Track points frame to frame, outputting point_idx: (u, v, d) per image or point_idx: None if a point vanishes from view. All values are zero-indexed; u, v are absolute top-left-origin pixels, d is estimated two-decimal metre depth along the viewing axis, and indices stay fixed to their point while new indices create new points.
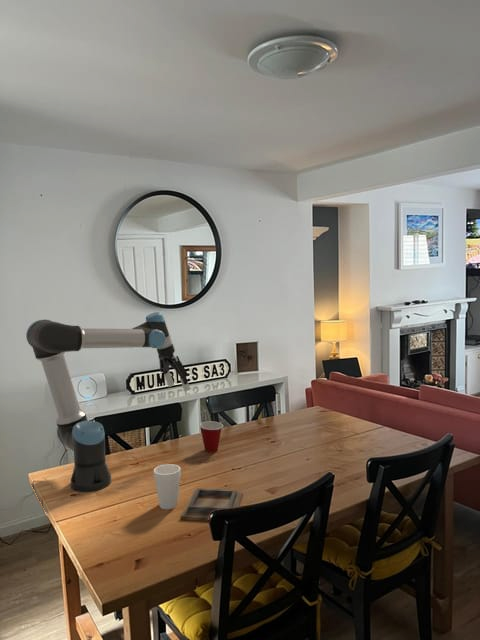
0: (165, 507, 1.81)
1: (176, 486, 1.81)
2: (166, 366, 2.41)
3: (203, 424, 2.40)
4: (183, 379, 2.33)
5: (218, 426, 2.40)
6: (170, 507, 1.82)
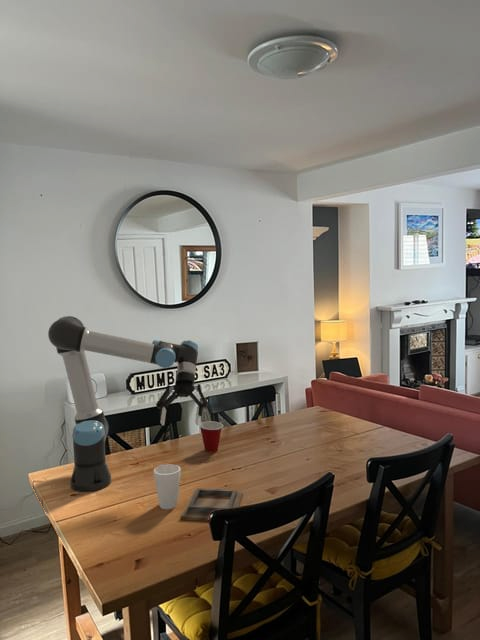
0: (165, 507, 1.81)
1: (176, 486, 1.81)
2: (172, 398, 2.07)
3: (203, 424, 2.40)
4: (201, 408, 2.02)
5: (218, 426, 2.40)
6: (170, 507, 1.82)
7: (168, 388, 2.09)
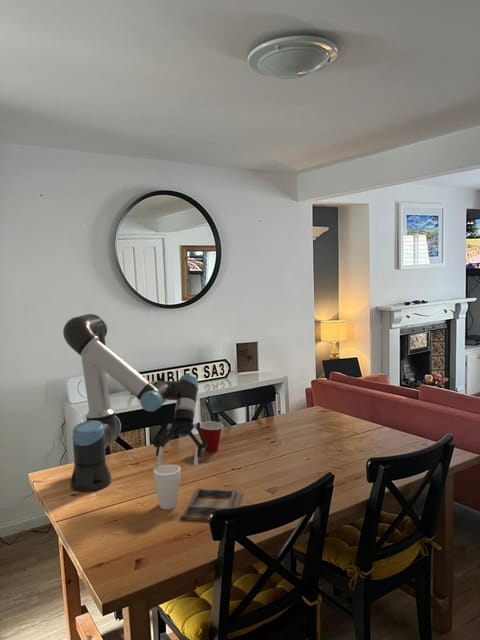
0: (165, 507, 1.81)
1: (176, 486, 1.81)
2: (170, 437, 1.96)
3: (203, 424, 2.40)
4: (200, 449, 1.92)
5: (218, 426, 2.40)
6: (170, 507, 1.82)
7: (166, 425, 1.99)
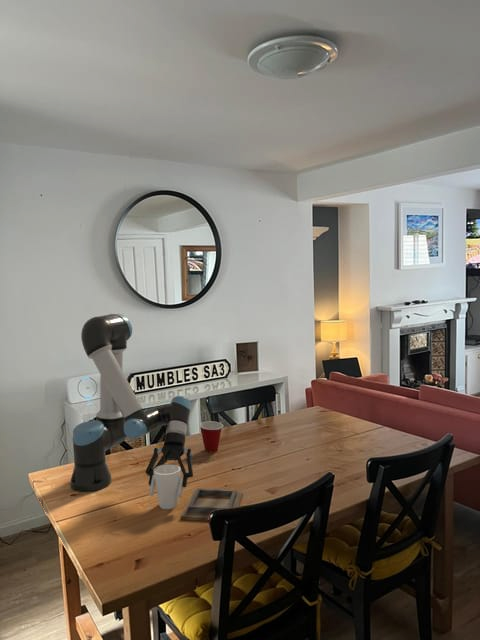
0: (165, 507, 1.81)
1: (176, 486, 1.81)
2: (162, 463, 1.88)
3: (203, 424, 2.40)
4: (185, 478, 1.83)
5: (218, 426, 2.40)
6: (170, 507, 1.82)
7: (156, 451, 1.90)
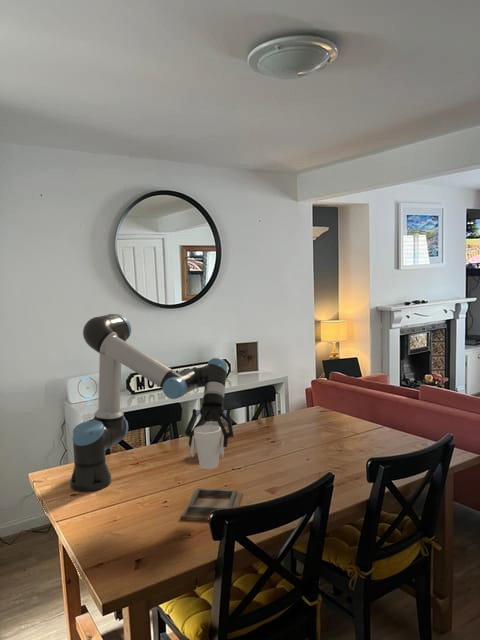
0: (206, 467, 1.78)
1: (217, 446, 1.78)
2: (201, 424, 1.84)
3: None
4: (226, 438, 1.79)
5: None
6: (211, 467, 1.78)
7: (194, 412, 1.87)
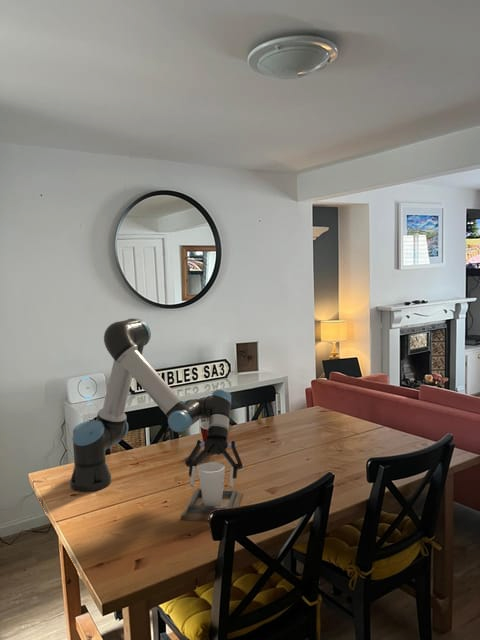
0: (210, 505, 1.79)
1: (221, 484, 1.79)
2: (203, 456, 1.86)
3: (203, 424, 2.40)
4: (235, 469, 1.81)
5: None
6: (215, 505, 1.79)
7: (199, 444, 1.88)
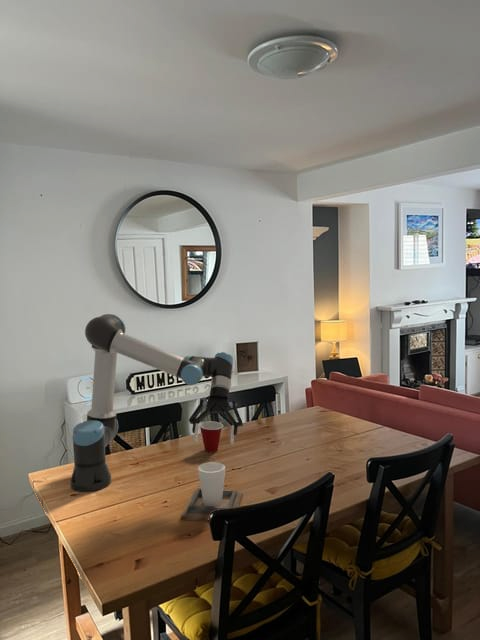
0: (210, 505, 1.79)
1: (221, 484, 1.79)
2: (206, 414, 1.98)
3: (203, 424, 2.40)
4: (236, 427, 1.94)
5: (218, 426, 2.40)
6: (215, 505, 1.79)
7: (201, 403, 2.00)
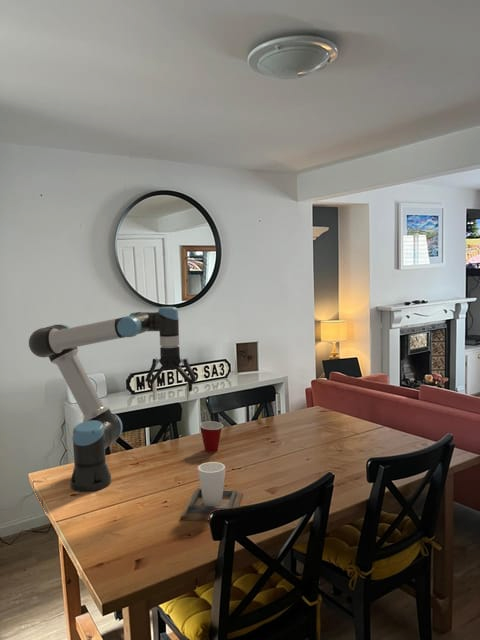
0: (210, 505, 1.79)
1: (221, 484, 1.79)
2: (160, 373, 2.08)
3: (203, 424, 2.40)
4: (190, 385, 2.06)
5: (218, 426, 2.40)
6: (215, 505, 1.79)
7: (154, 362, 2.07)
